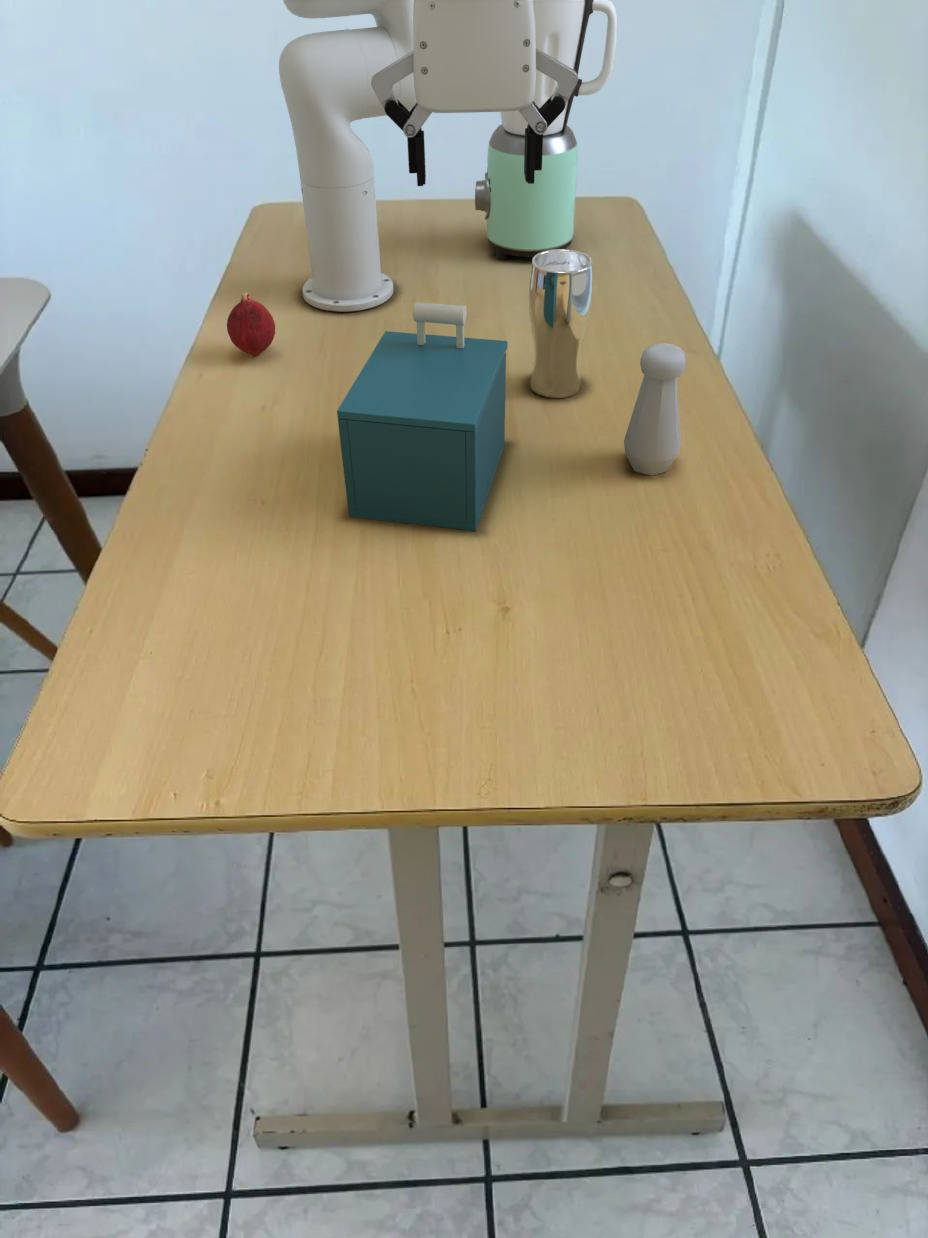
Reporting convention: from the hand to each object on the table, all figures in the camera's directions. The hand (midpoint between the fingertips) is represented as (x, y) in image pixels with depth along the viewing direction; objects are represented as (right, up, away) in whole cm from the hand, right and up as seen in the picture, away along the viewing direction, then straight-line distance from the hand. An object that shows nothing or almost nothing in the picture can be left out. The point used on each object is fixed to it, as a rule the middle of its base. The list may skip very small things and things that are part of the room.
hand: (475, 179), depth 85 cm
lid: (-5, -16, +7) cm, 18 cm away
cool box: (-5, -25, +14) cm, 29 cm away
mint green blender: (+10, +17, +60) cm, 63 cm away
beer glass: (+10, -12, +28) cm, 32 cm away
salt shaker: (+18, -23, +15) cm, 33 cm away
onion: (-27, -6, +35) cm, 45 cm away
